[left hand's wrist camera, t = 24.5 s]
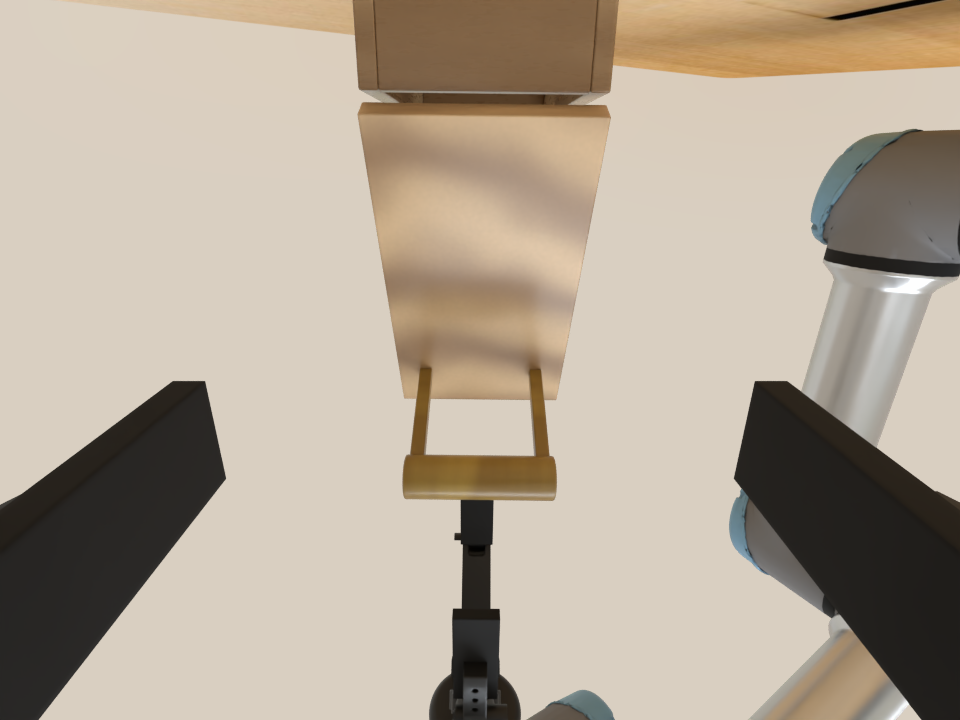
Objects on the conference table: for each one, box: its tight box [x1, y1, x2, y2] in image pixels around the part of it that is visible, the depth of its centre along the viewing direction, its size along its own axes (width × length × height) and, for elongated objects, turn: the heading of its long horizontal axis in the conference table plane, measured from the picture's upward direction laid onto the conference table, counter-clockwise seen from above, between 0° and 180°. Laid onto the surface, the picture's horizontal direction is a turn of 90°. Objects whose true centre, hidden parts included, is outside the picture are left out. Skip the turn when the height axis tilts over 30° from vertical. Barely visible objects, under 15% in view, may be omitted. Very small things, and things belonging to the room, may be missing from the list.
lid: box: [358, 102, 611, 501], centre depth 23 cm, size 17×9×9 cm
